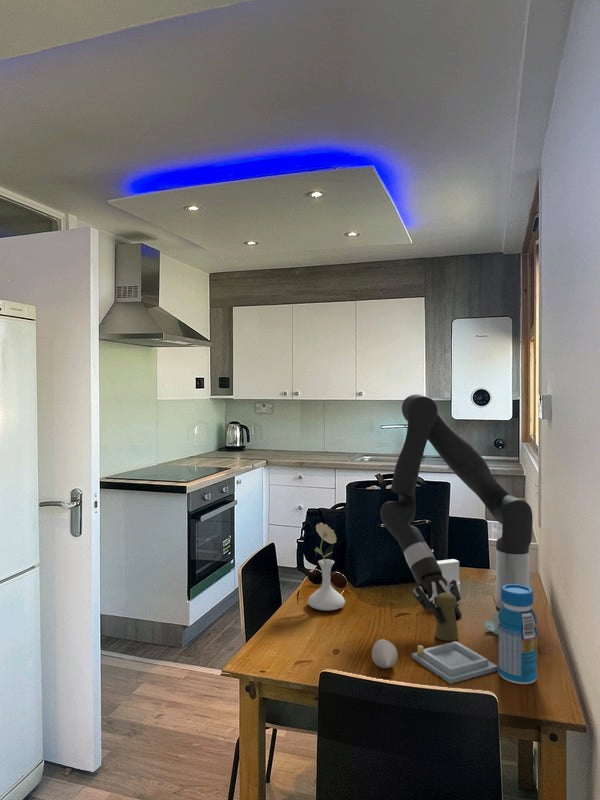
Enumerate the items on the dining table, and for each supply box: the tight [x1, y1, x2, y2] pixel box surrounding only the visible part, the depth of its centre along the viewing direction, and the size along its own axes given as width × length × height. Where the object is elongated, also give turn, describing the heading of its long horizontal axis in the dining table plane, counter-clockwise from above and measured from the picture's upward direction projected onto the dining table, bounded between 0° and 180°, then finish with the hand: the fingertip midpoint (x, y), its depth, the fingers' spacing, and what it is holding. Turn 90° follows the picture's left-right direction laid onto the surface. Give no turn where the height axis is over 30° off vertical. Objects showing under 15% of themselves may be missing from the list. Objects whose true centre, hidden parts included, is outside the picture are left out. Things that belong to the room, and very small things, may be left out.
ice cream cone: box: [371, 638, 399, 669], centre depth 130 cm, size 6×6×15 cm
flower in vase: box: [307, 522, 346, 612], centre depth 170 cm, size 13×11×25 cm
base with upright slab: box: [436, 558, 461, 605], centre depth 175 cm, size 9×9×12 cm
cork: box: [434, 593, 459, 642], centre depth 147 cm, size 6×6×11 cm
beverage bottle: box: [497, 584, 538, 685], centre depth 127 cm, size 8×8×20 cm
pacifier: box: [484, 610, 500, 636], centre depth 150 cm, size 7×6×6 cm
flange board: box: [411, 640, 498, 685], centre depth 133 cm, size 14×14×3 cm
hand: (451, 621), depth 146 cm, fingers closed on cork, 4 cm apart
